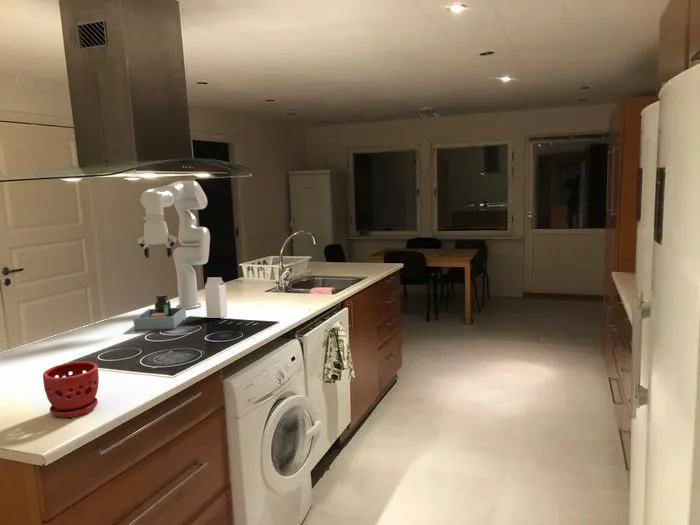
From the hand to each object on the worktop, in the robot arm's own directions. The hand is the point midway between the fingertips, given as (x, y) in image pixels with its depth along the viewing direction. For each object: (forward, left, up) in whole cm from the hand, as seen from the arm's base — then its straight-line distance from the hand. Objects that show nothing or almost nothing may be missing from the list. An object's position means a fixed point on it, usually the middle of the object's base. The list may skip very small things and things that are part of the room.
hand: (158, 257), depth 243 cm
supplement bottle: (0, 0, -30) cm, 30 cm away
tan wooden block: (+8, 0, -30) cm, 31 cm away
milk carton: (-6, +23, -31) cm, 39 cm away
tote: (+4, 0, -30) cm, 31 cm away
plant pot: (+103, +6, -31) cm, 108 cm away
